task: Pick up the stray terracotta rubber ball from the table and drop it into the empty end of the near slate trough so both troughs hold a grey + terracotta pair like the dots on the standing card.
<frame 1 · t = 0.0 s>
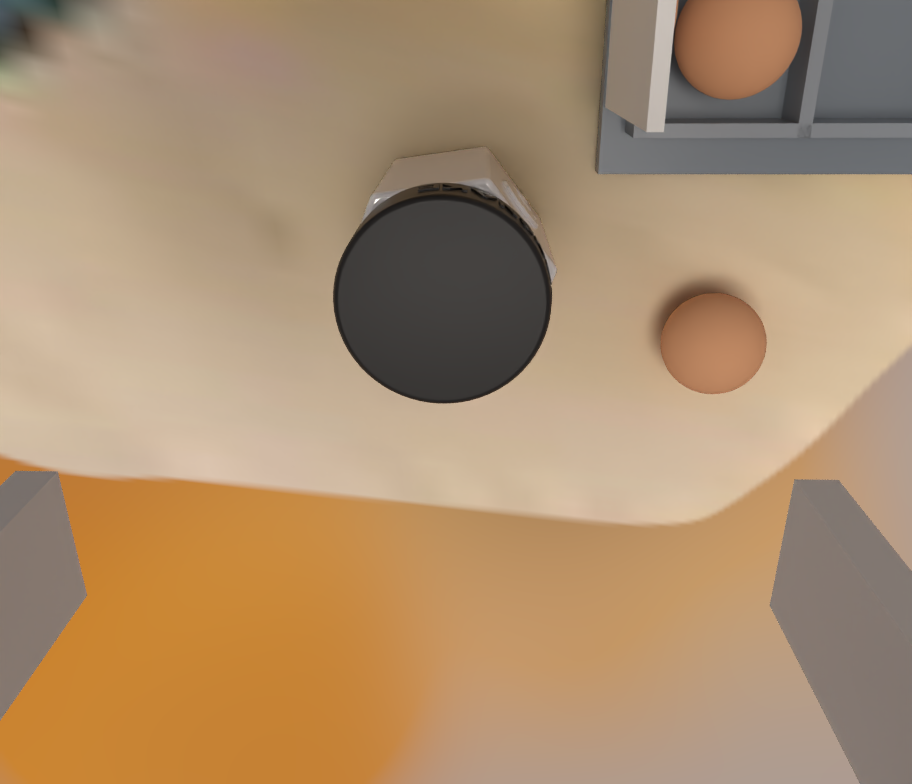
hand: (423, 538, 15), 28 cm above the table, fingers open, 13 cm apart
jar: (452, 230, 41), on the table
ball a terracotta: (719, 35, 36), point 1 cm above the table, touching rack
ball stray: (699, 326, 42), on the table
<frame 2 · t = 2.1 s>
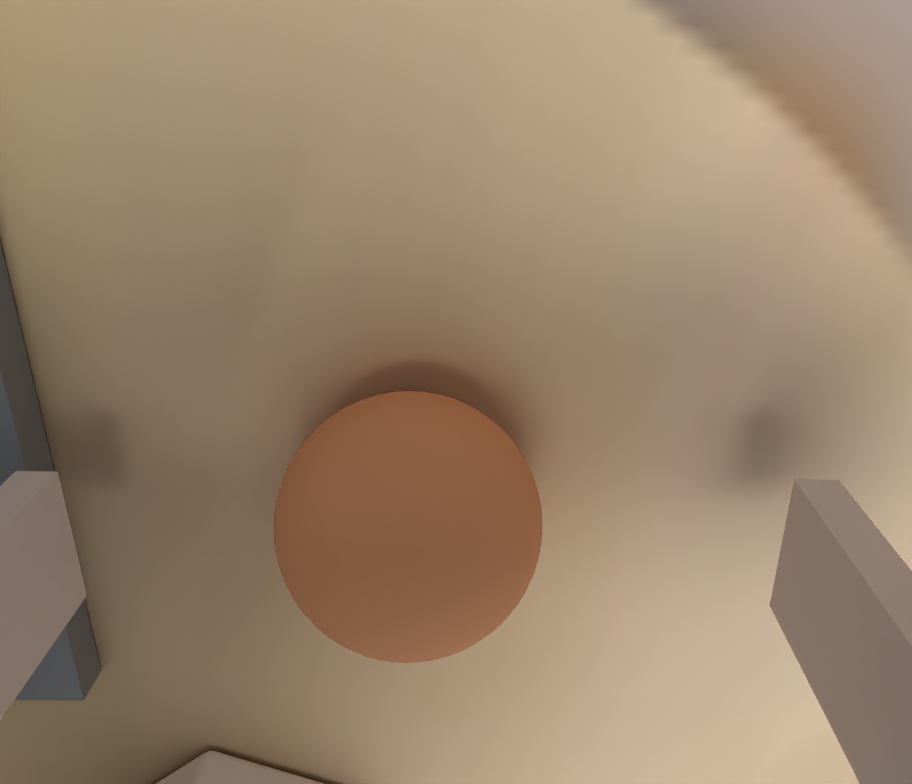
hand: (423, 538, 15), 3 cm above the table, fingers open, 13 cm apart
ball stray: (416, 459, 17), on the table
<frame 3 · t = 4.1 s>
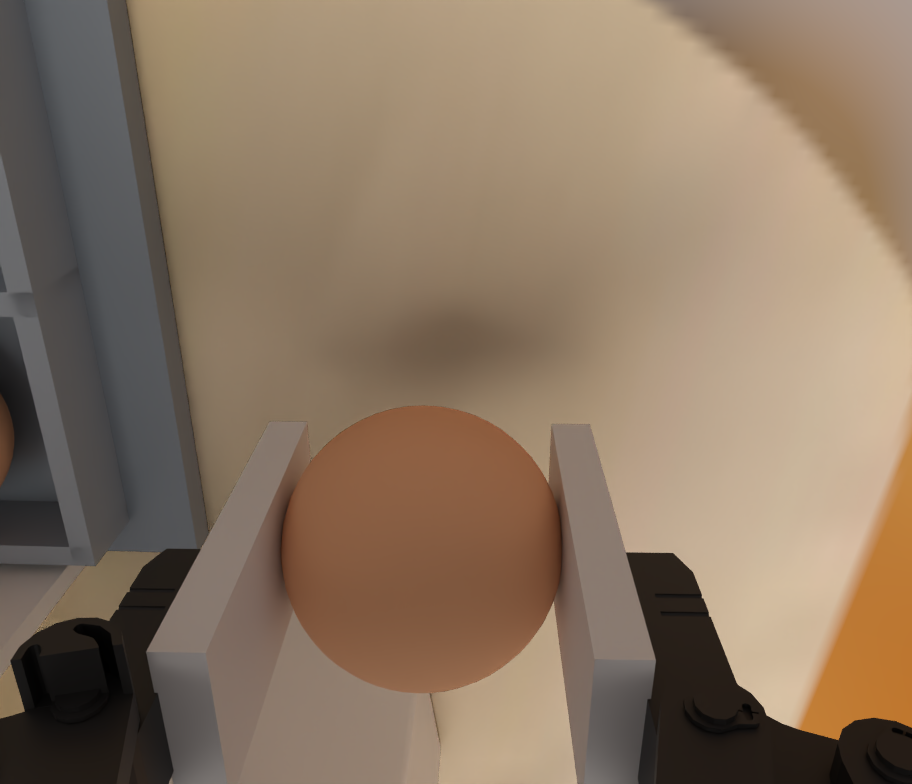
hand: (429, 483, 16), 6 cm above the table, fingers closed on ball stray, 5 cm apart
jar: (321, 700, 28), on the table
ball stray: (431, 474, 17), point 6 cm above the table, touching gripper
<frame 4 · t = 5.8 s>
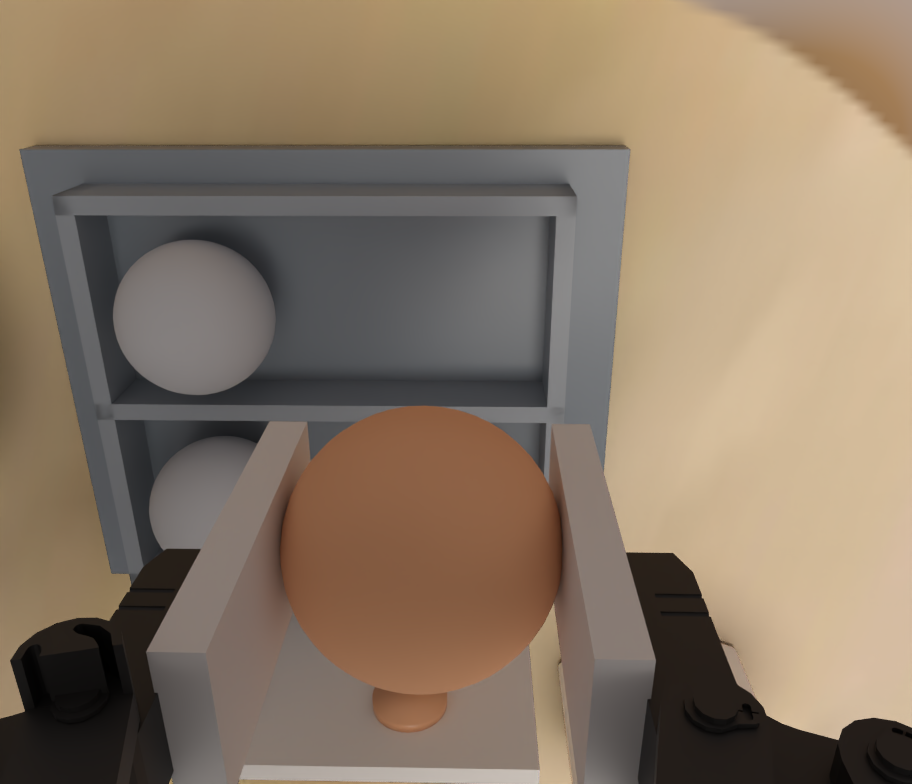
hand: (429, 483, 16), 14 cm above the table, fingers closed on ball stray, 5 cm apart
jar: (646, 688, 37), on the table
ball a grey: (241, 470, 31), point 1 cm above the table, touching rack
rack: (342, 377, 31), on the table
ball b grey: (219, 294, 28), point 1 cm above the table, touching rack
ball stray: (431, 474, 17), point 14 cm above the table, touching gripper
when the fingers open (3 cm above the table, at t = 7.5 s): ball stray drops 2 cm, resting on rack.
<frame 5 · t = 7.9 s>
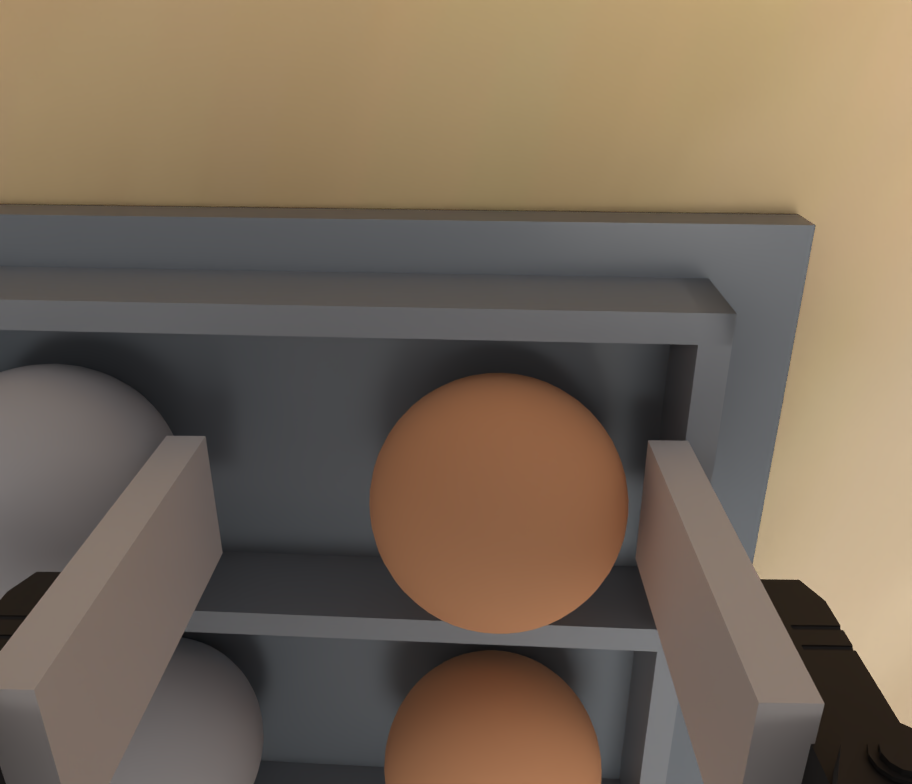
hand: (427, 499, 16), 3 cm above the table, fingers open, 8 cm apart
ball a terracotta: (494, 683, 21), point 1 cm above the table, touching rack
ball a grey: (192, 669, 21), point 1 cm above the table, touching rack
rack: (341, 541, 21), on the table
ball b grey: (140, 434, 18), point 1 cm above the table, tilted 18°, touching rack
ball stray: (500, 440, 18), point 1 cm above the table, touching rack
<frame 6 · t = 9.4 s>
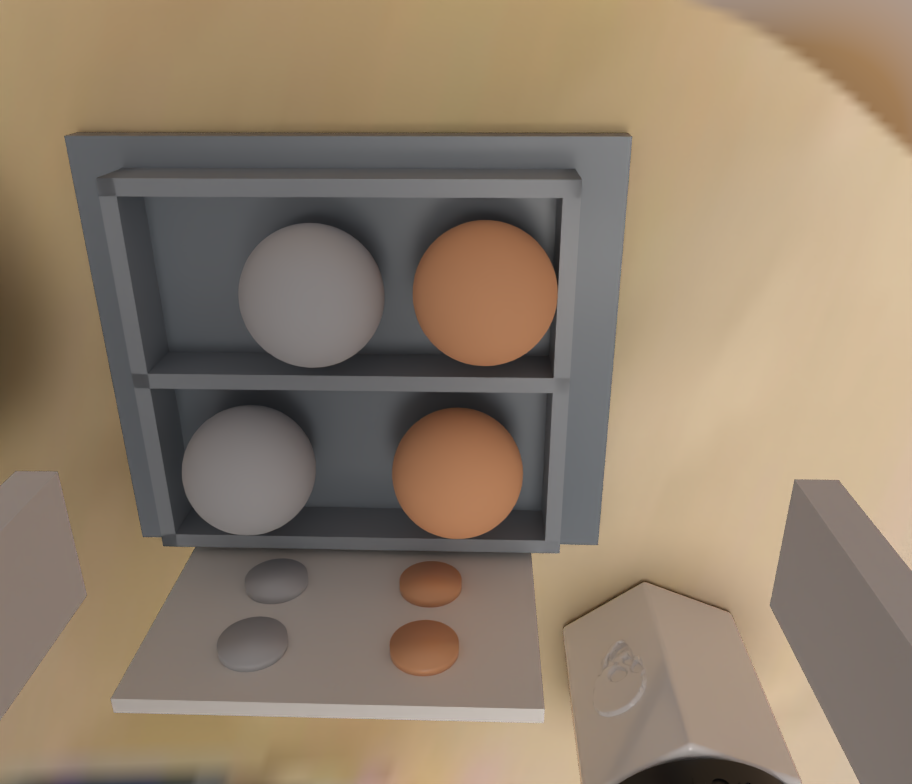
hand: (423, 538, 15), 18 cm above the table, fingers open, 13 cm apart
jar: (646, 651, 39), on the table
ball a terracotta: (459, 442, 33), point 1 cm above the table, touching rack
ball a grey: (266, 439, 33), point 1 cm above the table, touching rack
rack: (361, 351, 33), on the table
ball b grey: (255, 286, 29), point 2 cm above the table, tilted 65°, touching rack
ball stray: (459, 274, 30), point 1 cm above the table, tilted 22°, touching rack
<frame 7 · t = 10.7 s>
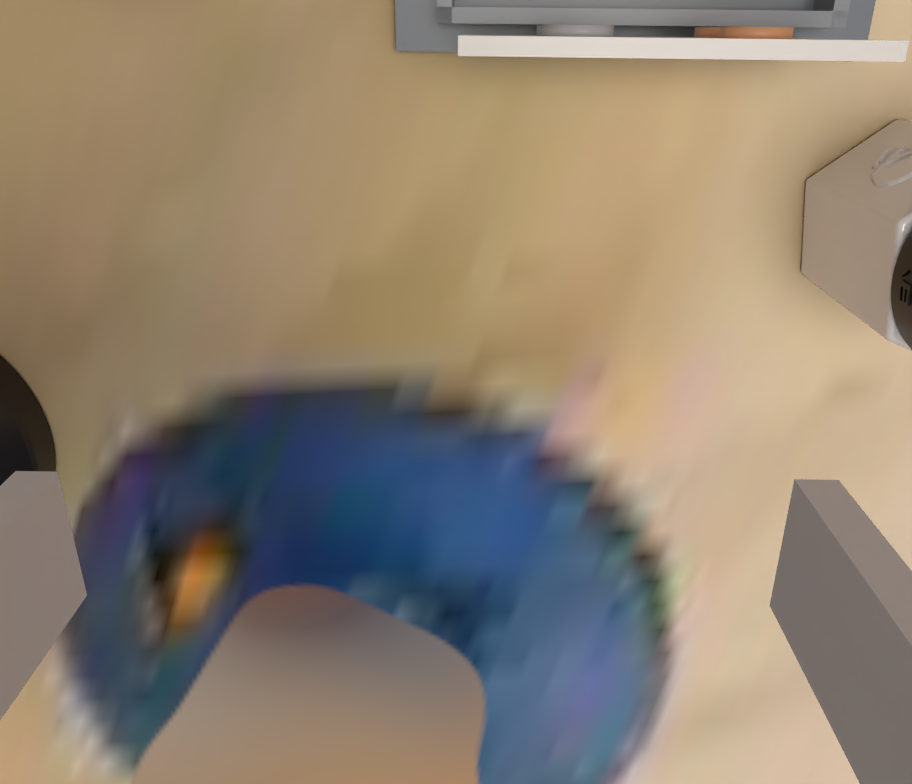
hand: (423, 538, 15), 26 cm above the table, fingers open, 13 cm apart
jar: (884, 216, 38), on the table
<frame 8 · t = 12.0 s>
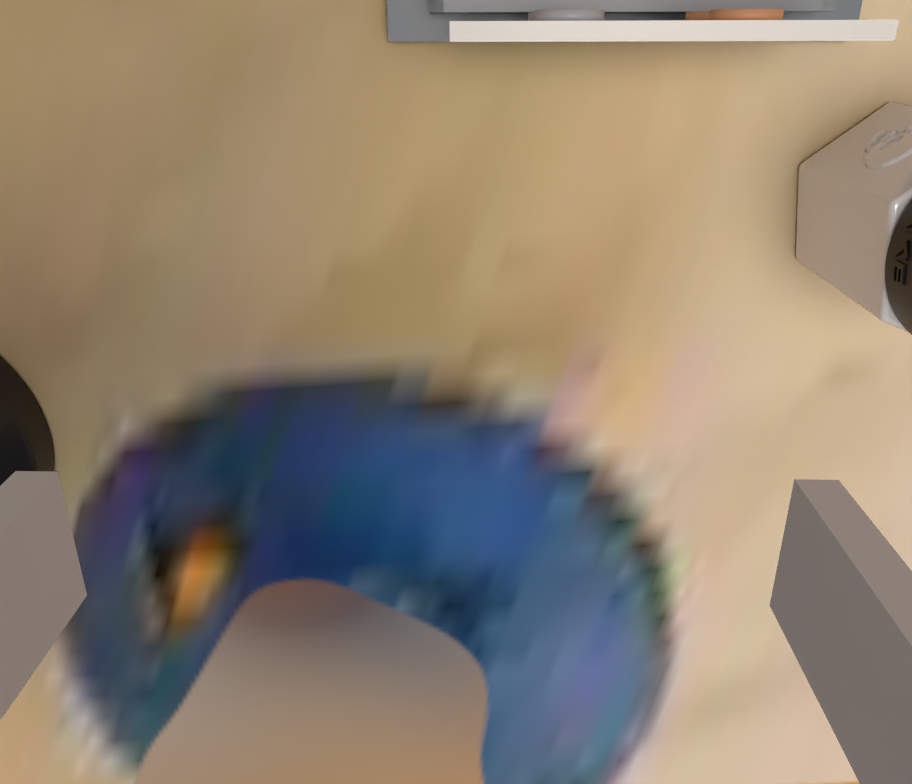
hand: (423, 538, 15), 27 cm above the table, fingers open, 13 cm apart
jar: (878, 200, 38), on the table
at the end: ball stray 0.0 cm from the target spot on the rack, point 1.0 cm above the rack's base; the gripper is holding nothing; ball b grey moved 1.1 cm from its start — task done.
